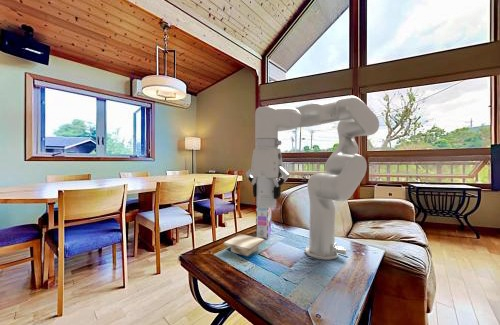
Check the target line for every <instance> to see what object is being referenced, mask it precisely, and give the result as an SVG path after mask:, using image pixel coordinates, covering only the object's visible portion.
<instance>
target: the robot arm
mask: <svg viewBox="0 0 500 325" xmlns="http://www.w3.org/2000/svg"><path fill="white" fill-rule="evenodd" d="M254 112H255V115H254V120H255V121H254V128H255V129H254V130H255V131H254V132H255V136H254V137H255V138H254V145H255V146H254V147H255V148H253V151H252V157H251V167H250V168H249V169H248V170H247V171H246V172H245V173H244V174H245V176H246V177H247V179H248V180H249V182H250V184H251V185H252V196H253V198H257V178H258V176H259V172H264V173H265V178H267V179H273V181H274V184H275V187H274V199H276V200H278V199H280V197H281V194H282V193H281V189H282V188H281V187H282V186H283V184H285V182H286V181H287V180H288V178H289V177H290V173H288V172H287V171H286V170H285V169H284V167H283V157H282V152H281V151H282V150H281V148H278V147H279V146H281V145H282V140H279V138H278V137H279V135H278V134H279V132H284V131H291V130H295V129H298V128H309V127H310V128H311V127H315V126H321V125H325V124H328V123H335V122H338V124H337V126H336V130H337V134H338V145H337V146H336V147H335V149H334V150H333V151H332V153H331V155H330V156H329V157H328V158H327V160H326V161H325V163H324V164H325V165H324V171H325V173H324V172H317V173H314V174H312V175H311V176H310V177H309V178H308V181H307V192H308V197H309V198H308V199H309V232H308V234H309V239H308V240H309V241H308V242H309V243H308V245H306V247H304V248H305V249H304V251H305V254H306V255H307V256H309V257H311V258H314V259H316V260H317V259H318V260H322V261H323V260H324V261H328V260H329V261H331V260H335V259H337V258H338V257H339V254H340V255H344V256H346V255H347V249H345V247H344V246H338V244H337V241H335V238H336V237H335V235H336V229H335V228H336V208H335V204H334V201H337V202H346V201H347V200H349V199H350V198H351V197H352V196H353V195H354V193H355V191H356V190H357V188H358V186H359V185H360V184H361V183H362V180H363V179H364V177H365V176H366V173H367V168H368V164H367V160H366V158H365V157H364V156H363V155H360V154H359V144H358V143H357V141H356V137H363V136H364V137H366V136H371V135H375V134H376V133H377V132H378V130H379V127H380V122H379V118H378V117H377V115H376V113H374V111H373V110H372V109H371V108H370V107H369V106H368V105H367V104H366V103H365V102H364V101H363V100H361V99H360V98H359V97H357V96H355V95H348V96H345V97H342V98H341V97H339V98H336V99H331V100H326V101H325V100H324V101H318V102H310V103H307V104H305V105H301V106H298V107H274V106H269V105H268V106H260V107H257V108H256V109H255V111H254Z"/></svg>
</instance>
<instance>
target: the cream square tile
mask: <svg viewBox="0 0 500 325" xmlns="http://www.w3.org/2000/svg"><path fill="white" fill-rule="evenodd" d="M265 242H266V239H262V238H257V237H256V236H252V235H246V234H243V233H239V234H237V235H236V236H233V237H231V238H229V239H228V240H226V241H224V242H223V246H225V247H230V252H231V253H234V254H238V255H242V256H245V257H249V256H251V255H252V254H254V253H256V251H258V250H259V246H260V245H262V244H263V243H265Z"/></svg>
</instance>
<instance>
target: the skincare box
mask: <svg viewBox="0 0 500 325" xmlns="http://www.w3.org/2000/svg"><path fill="white" fill-rule="evenodd" d="M274 187H275V184H274V181H273V179H267V178H265V173H264V172H259V176H258V178H257V197H256V204H255V205H257V207H258V208H271V209H273V208H277V199H274Z"/></svg>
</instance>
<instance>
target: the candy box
mask: <svg viewBox="0 0 500 325" xmlns="http://www.w3.org/2000/svg"><path fill="white" fill-rule="evenodd" d="M255 205H256V204H255ZM255 211H256V212H255V237H257V238H262V239H265V240H268V239H269V237H270V234H271V232H272V208H258V207H257V205H256V207H255Z"/></svg>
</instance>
